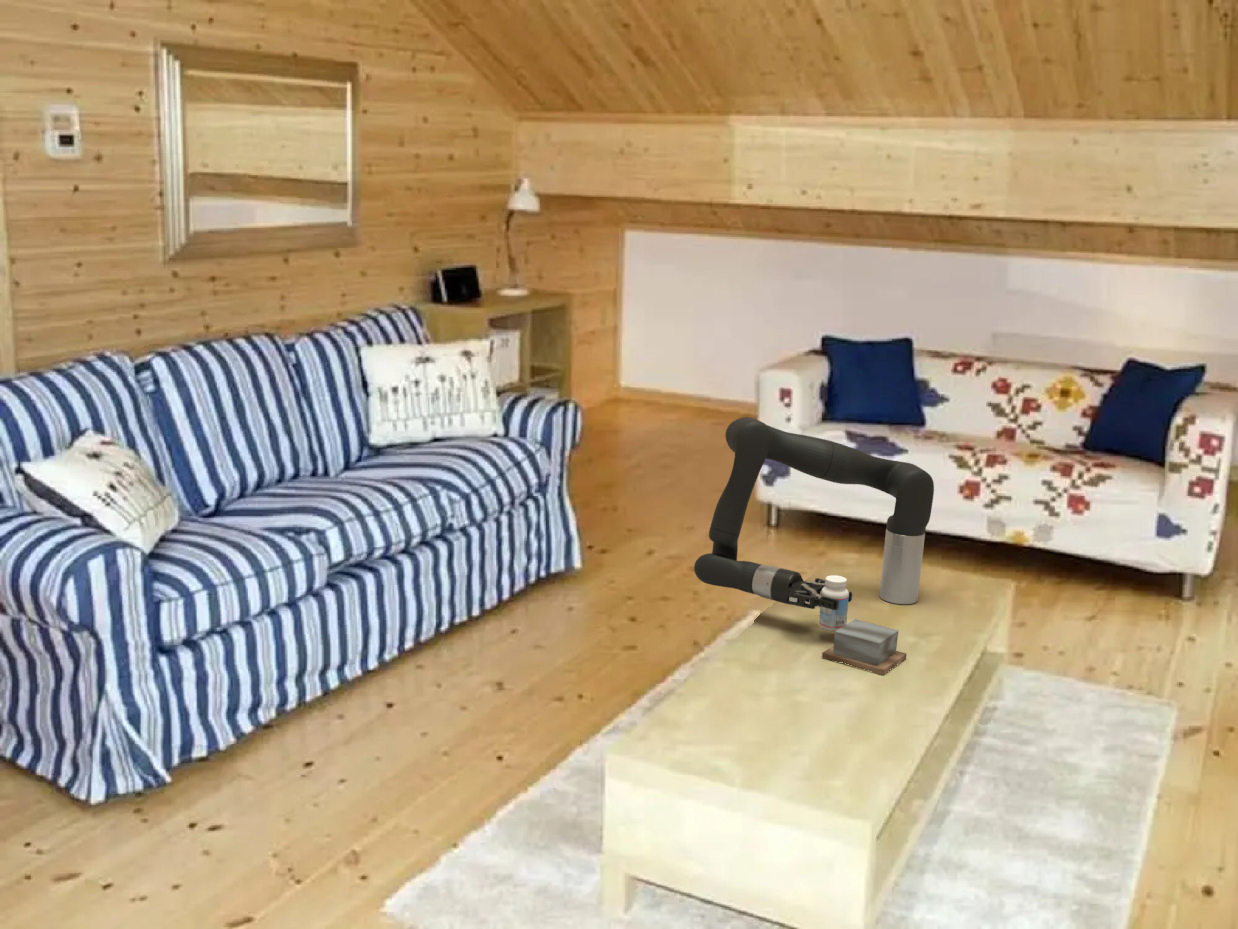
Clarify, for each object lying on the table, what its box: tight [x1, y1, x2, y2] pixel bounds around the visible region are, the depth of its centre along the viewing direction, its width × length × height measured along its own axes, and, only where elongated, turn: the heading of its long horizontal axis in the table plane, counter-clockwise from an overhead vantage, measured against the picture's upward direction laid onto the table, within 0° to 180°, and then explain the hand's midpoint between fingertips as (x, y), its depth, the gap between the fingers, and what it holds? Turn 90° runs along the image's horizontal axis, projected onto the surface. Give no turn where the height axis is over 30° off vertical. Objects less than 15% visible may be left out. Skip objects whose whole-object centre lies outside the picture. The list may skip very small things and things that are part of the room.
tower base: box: [821, 618, 908, 676], centre depth 270 cm, size 12×14×6 cm
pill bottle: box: [818, 574, 850, 632], centre depth 279 cm, size 6×6×11 cm
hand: (844, 601), depth 278 cm, fingers closed on pill bottle, 6 cm apart
